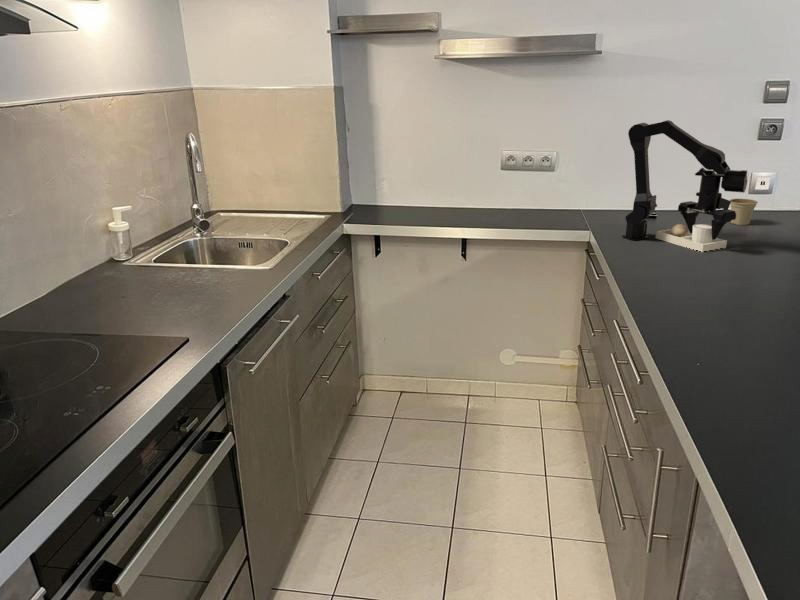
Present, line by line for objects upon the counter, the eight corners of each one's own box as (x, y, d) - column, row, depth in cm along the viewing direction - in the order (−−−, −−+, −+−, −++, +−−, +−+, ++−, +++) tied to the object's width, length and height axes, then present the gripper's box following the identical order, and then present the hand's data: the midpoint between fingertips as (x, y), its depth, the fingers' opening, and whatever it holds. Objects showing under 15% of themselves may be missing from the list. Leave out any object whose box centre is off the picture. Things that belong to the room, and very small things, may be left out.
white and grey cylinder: (709, 250, 202) (713, 229, 200) (687, 247, 206) (690, 227, 204) (714, 245, 208) (717, 225, 205) (692, 242, 211) (694, 222, 209)
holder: (702, 252, 200) (703, 245, 200) (655, 238, 218) (656, 231, 217) (726, 248, 204) (727, 240, 203) (678, 234, 222) (679, 227, 221)
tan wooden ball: (678, 242, 212) (680, 226, 210) (666, 238, 217) (668, 223, 215) (690, 240, 214) (693, 224, 212) (678, 236, 219) (680, 221, 217)
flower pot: (759, 226, 229) (763, 203, 226) (733, 226, 229) (737, 204, 226) (746, 220, 238) (749, 198, 235) (721, 221, 238) (725, 198, 235)
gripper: (752, 191, 195) (744, 239, 200) (704, 183, 211) (698, 227, 217) (726, 195, 191) (719, 244, 196) (679, 186, 207) (673, 231, 213)
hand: (702, 236), depth 206 cm, fingers open, 9 cm apart
